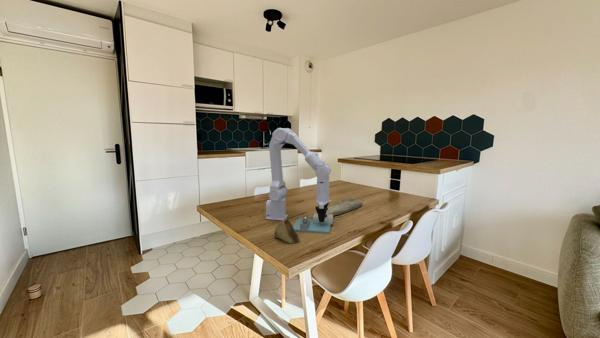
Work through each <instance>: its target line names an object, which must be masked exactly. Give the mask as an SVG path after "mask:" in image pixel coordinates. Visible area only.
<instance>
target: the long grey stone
mask: <svg viewBox="0 0 600 338" xmlns="http://www.w3.org/2000/svg"><path fill="white" fill-rule="evenodd" d="M337 203H338V204H334V205H331V206H327V208H328V210H327V212H326V214H333V217H336V216H341V215H343V214H345V213H346V214H347V213H349V212H350V211H354V210H356V209H358V208H360V207H361V206H362V205H363V202H362V200H360V199H353V198H351V197H348V198H346V197H343V198H342V199H341V200H340V201H339V202H337Z"/></svg>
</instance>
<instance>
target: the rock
mask: <svg viewBox="0 0 600 338" xmlns="http://www.w3.org/2000/svg"><path fill="white" fill-rule="evenodd" d="M293 227H294V225H293V224H292V222H291V221H290V220H289V219H288V217H286V218H284V220H281V221H280V222H279V223H278V224H277V225H276V228H275V230H274V234H273V235H274V237H275V238H277V239H279V240H282V242H285V243H287V244H298V243H301V241H300V237H299V234H298V233H297V231H295V229H294V228H293Z"/></svg>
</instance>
